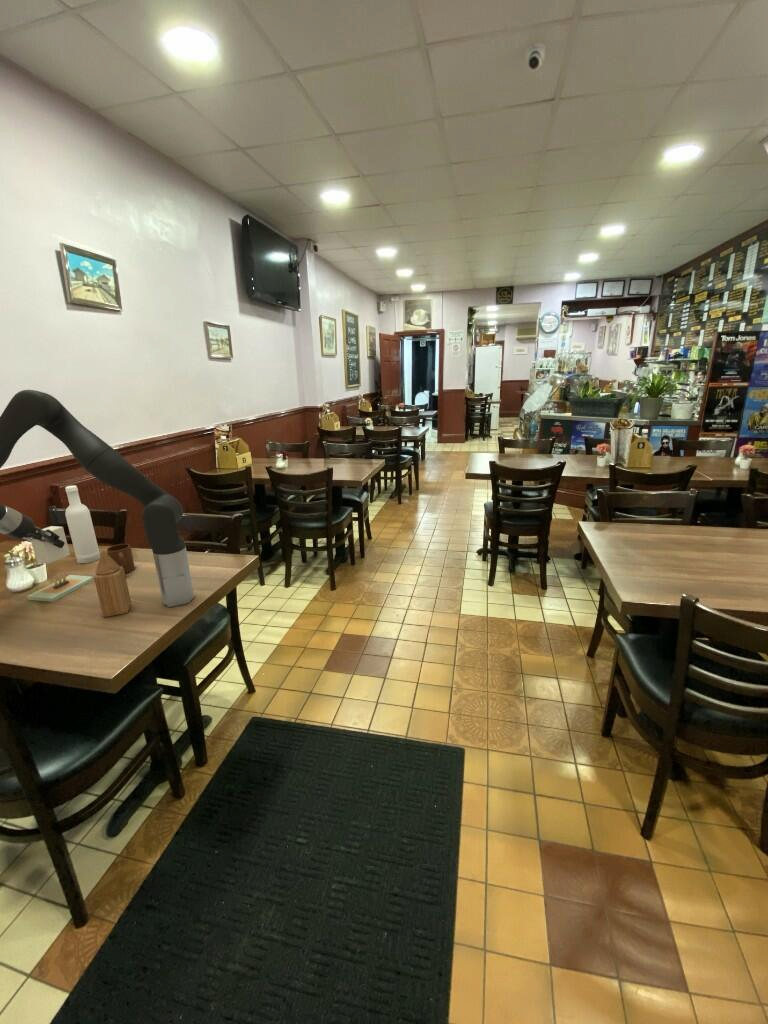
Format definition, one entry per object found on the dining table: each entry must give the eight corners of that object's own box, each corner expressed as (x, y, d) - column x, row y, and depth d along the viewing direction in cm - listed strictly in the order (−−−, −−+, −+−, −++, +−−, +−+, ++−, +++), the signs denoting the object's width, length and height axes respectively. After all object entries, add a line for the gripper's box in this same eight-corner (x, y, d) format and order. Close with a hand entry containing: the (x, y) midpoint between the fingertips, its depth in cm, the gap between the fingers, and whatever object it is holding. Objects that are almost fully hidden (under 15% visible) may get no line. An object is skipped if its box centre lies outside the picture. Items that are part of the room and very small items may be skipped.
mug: (138, 575, 156) (133, 551, 153) (114, 581, 152) (108, 556, 149) (133, 564, 165) (128, 542, 162) (110, 570, 161) (105, 546, 158)
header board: (71, 577, 155) (67, 565, 154) (94, 579, 153) (91, 566, 152) (27, 599, 141) (23, 585, 139) (52, 601, 139) (48, 587, 137)
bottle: (104, 558, 172) (87, 485, 163) (83, 565, 166) (64, 490, 157) (94, 554, 176) (77, 483, 168) (73, 561, 170) (54, 487, 161)
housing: (58, 553, 148) (51, 526, 145) (70, 554, 147) (62, 526, 144) (37, 562, 141) (28, 533, 138) (49, 563, 140) (41, 534, 137)
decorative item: (108, 607, 134) (93, 547, 128) (132, 603, 136) (118, 544, 130) (103, 618, 128) (87, 555, 122) (128, 613, 130) (114, 552, 124)
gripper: (34, 512, 130) (79, 535, 144) (-3, 510, 133) (44, 533, 147) (22, 534, 126) (68, 556, 141) (-17, 532, 129) (33, 554, 144)
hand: (55, 544), depth 144 cm, fingers closed on housing, 4 cm apart
